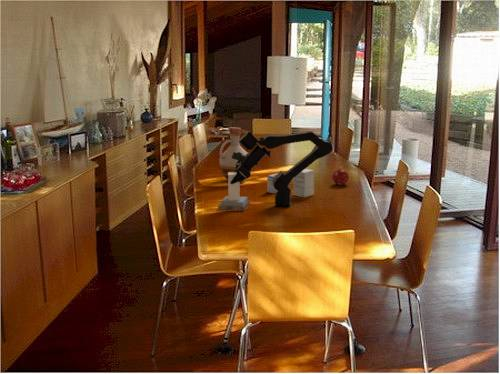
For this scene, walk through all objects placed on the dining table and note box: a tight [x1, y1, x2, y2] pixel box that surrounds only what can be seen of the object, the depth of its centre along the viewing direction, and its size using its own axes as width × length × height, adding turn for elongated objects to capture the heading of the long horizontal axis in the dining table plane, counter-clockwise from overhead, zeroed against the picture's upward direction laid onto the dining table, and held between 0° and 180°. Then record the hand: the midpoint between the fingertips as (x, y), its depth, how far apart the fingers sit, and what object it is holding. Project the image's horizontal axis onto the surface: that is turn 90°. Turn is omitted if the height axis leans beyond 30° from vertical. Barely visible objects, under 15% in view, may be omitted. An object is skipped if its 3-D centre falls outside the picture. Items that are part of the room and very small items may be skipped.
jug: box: [218, 126, 249, 183], centre depth 293 cm, size 20×18×30 cm
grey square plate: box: [217, 199, 251, 212], centre depth 246 cm, size 12×12×2 cm
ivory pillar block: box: [227, 172, 241, 201], centre depth 244 cm, size 5×5×12 cm
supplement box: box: [293, 168, 315, 198], centre depth 264 cm, size 7×7×13 cm
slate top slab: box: [220, 195, 248, 207], centre depth 245 cm, size 10×10×2 cm
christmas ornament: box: [332, 166, 350, 186], centre depth 285 cm, size 9×9×10 cm
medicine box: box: [267, 172, 279, 194], centre depth 273 cm, size 8×4×9 cm, turn 141°
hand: (230, 181), depth 243 cm, fingers open, 9 cm apart
